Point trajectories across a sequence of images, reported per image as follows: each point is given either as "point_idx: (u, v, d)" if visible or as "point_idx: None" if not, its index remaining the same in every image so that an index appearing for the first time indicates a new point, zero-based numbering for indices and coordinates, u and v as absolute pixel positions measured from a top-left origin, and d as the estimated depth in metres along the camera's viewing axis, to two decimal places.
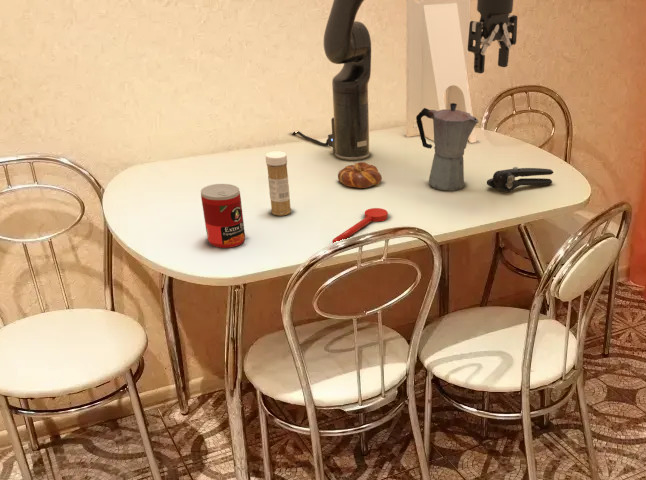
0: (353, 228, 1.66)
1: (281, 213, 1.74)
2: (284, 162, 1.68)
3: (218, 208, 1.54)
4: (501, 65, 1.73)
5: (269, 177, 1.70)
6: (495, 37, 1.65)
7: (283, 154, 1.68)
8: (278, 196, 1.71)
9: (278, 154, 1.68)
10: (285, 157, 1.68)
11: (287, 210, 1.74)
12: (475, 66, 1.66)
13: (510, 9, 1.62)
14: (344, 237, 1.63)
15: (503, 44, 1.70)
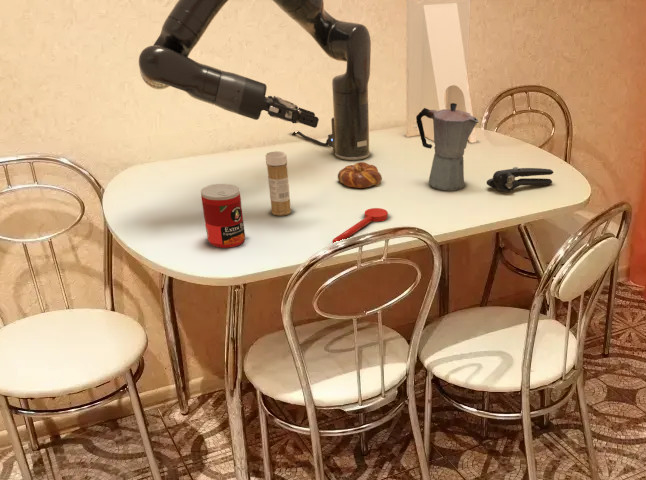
0: (353, 228, 1.66)
1: (281, 213, 1.74)
2: (284, 162, 1.68)
3: (218, 208, 1.54)
4: None
5: (269, 177, 1.70)
6: None
7: (283, 154, 1.68)
8: (278, 196, 1.71)
9: (278, 154, 1.68)
10: (285, 157, 1.68)
11: (287, 210, 1.74)
12: None
13: None
14: (344, 237, 1.63)
15: None
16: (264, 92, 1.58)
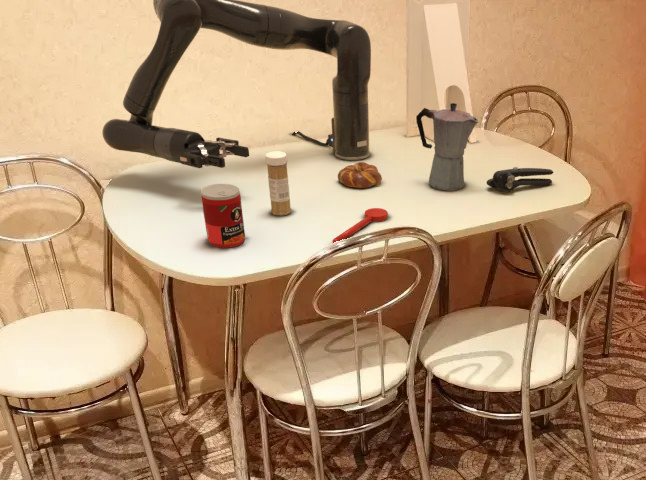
0: (353, 228, 1.66)
1: (281, 213, 1.74)
2: (284, 162, 1.68)
3: (218, 208, 1.54)
4: None
5: (269, 177, 1.70)
6: None
7: (283, 154, 1.68)
8: (278, 196, 1.71)
9: (278, 154, 1.68)
10: (285, 157, 1.68)
11: (287, 210, 1.74)
12: None
13: None
14: (344, 237, 1.63)
15: None
16: (185, 142, 1.74)
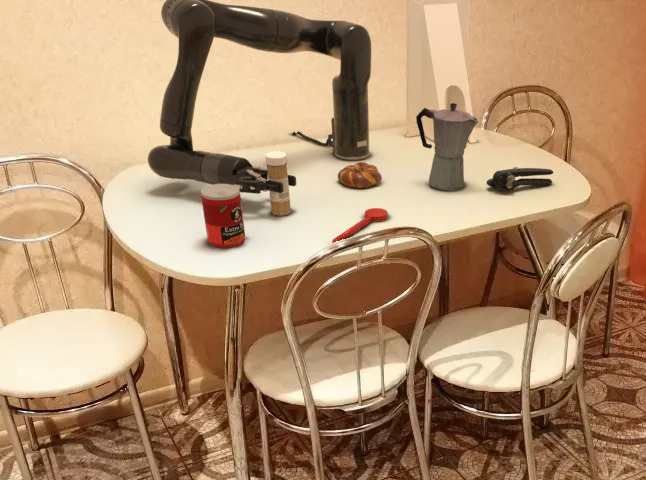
0: (353, 228, 1.66)
1: (281, 213, 1.74)
2: (284, 162, 1.68)
3: (218, 208, 1.54)
4: None
5: (269, 177, 1.70)
6: None
7: (283, 154, 1.68)
8: (278, 196, 1.71)
9: (278, 154, 1.68)
10: (285, 157, 1.68)
11: (287, 210, 1.74)
12: None
13: None
14: (344, 237, 1.63)
15: None
16: (233, 168, 1.72)
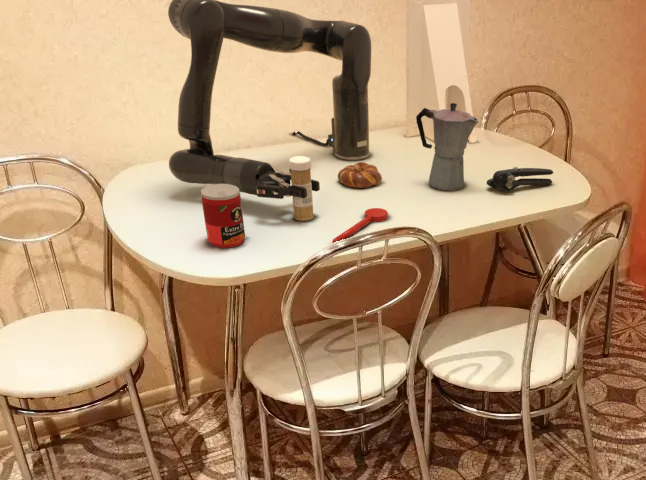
0: (353, 228, 1.66)
1: (304, 218, 1.71)
2: (308, 167, 1.66)
3: (218, 208, 1.54)
4: None
5: (292, 182, 1.67)
6: None
7: (307, 159, 1.66)
8: (301, 201, 1.69)
9: (302, 159, 1.66)
10: (309, 162, 1.66)
11: (310, 215, 1.72)
12: None
13: None
14: (344, 237, 1.63)
15: None
16: (256, 173, 1.70)
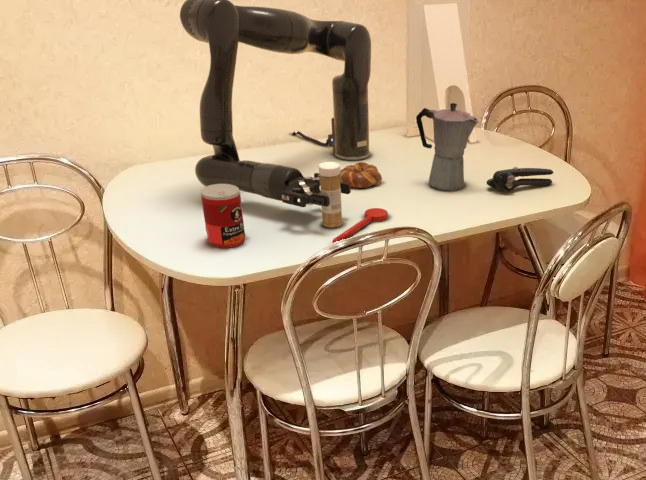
0: (353, 228, 1.66)
1: (333, 225, 1.69)
2: (338, 173, 1.63)
3: (218, 208, 1.54)
4: None
5: (322, 188, 1.65)
6: None
7: (337, 165, 1.63)
8: (330, 208, 1.66)
9: (332, 164, 1.63)
10: (339, 168, 1.63)
11: (339, 222, 1.69)
12: None
13: None
14: (344, 237, 1.63)
15: None
16: (285, 179, 1.67)
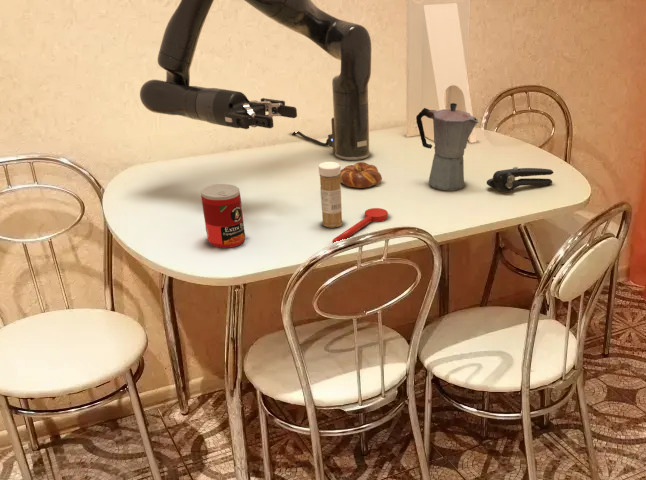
0: (353, 228, 1.66)
1: (333, 225, 1.69)
2: (338, 173, 1.63)
3: (218, 208, 1.54)
4: None
5: (322, 188, 1.65)
6: None
7: (337, 165, 1.63)
8: (330, 208, 1.66)
9: (332, 164, 1.63)
10: (339, 168, 1.63)
11: (339, 222, 1.69)
12: None
13: None
14: (344, 237, 1.63)
15: None
16: (229, 102, 1.63)
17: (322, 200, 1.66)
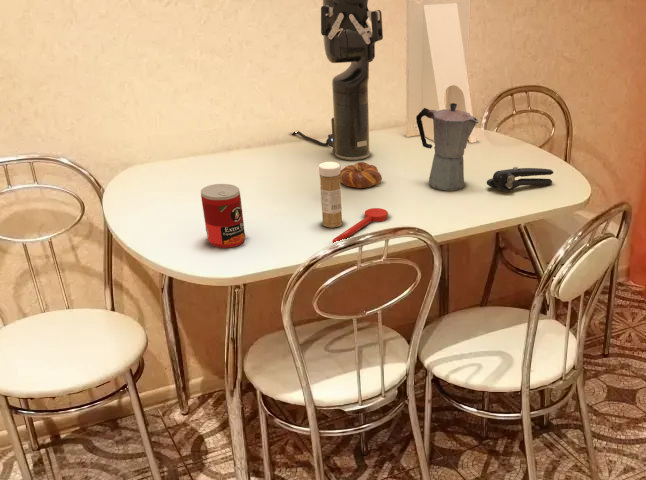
0: (353, 228, 1.66)
1: (333, 225, 1.69)
2: (338, 173, 1.63)
3: (218, 208, 1.54)
4: None
5: (322, 188, 1.65)
6: (346, 26, 1.67)
7: (337, 165, 1.63)
8: (330, 208, 1.66)
9: (332, 164, 1.63)
10: (339, 168, 1.63)
11: (339, 222, 1.69)
12: None
13: None
14: (344, 237, 1.63)
15: None
16: None
17: (322, 200, 1.66)
